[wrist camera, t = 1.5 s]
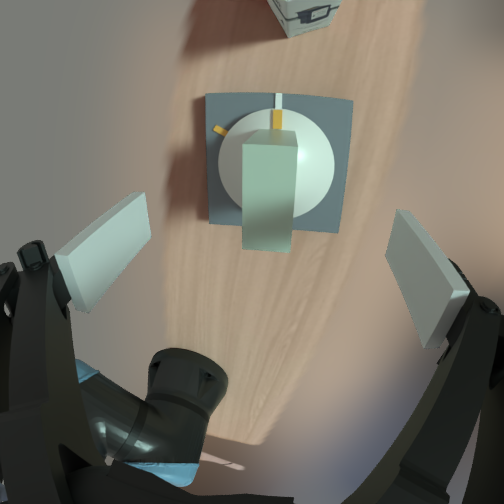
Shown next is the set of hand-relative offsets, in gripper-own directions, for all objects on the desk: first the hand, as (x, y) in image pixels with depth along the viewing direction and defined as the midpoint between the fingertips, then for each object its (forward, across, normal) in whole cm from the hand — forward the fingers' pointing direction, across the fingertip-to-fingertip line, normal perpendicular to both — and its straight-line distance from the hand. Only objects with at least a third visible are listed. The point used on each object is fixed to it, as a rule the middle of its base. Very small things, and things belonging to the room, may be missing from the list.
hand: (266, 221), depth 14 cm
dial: (+14, 0, 0) cm, 14 cm away
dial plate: (+17, 0, 0) cm, 17 cm away
